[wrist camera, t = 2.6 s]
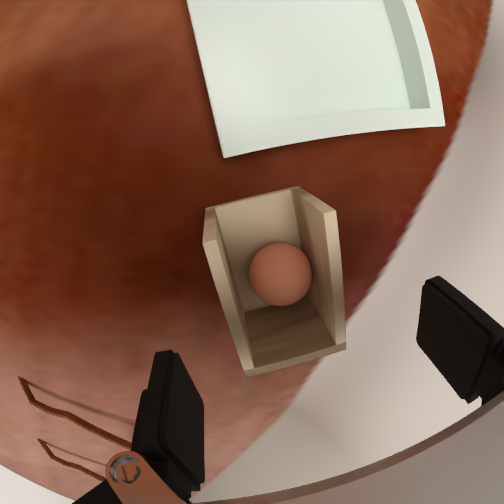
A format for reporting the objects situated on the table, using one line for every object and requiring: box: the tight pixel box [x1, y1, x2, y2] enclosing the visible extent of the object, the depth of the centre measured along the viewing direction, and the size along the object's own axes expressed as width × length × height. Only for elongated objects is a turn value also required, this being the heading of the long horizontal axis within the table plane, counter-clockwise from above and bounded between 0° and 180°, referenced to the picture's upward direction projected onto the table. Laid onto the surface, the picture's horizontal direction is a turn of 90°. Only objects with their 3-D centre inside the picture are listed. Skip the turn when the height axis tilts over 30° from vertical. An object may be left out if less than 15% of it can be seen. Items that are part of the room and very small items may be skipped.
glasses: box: [18, 376, 132, 482], centre depth 20 cm, size 13×13×5 cm
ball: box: [249, 243, 312, 306], centre depth 15 cm, size 3×3×3 cm
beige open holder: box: [203, 186, 346, 377], centre depth 14 cm, size 7×5×5 cm
